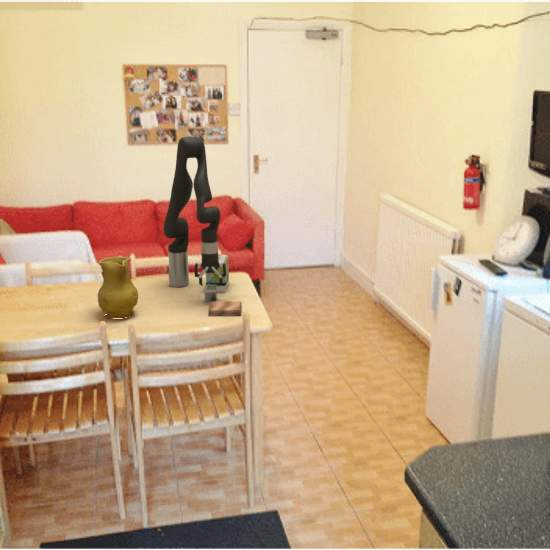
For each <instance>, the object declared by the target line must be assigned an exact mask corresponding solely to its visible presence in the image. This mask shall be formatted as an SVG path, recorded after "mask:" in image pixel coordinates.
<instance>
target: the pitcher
mask: <svg viewBox="0 0 550 550" xmlns="http://www.w3.org/2000/svg"><path fill="white" fill-rule="evenodd" d="M130 261H131V258H130V257H128V256H110V257H104V258H103V259H100V260H99V261H98V264H99V266H100V267H101V271H102V272H101V274H102V278H103V281H102V284H101V287H100V288H99V289H98V293H97V304H98V307H99V308H100V309H101V311H102V312H103V313H104V315H105V314H107V315H105V316H104V318H106V317H107V318H125V317H129V316H131V317H132V316H133V315H134V311H133V309H134V308H135V307H136V306H137V305H138V303H139V302H138V300H139V291H138V289H137V287H136V286H135V285H134V283H133V281H132V279H131V276H130V275H131V274H130V267H129V266H130ZM132 314H133V315H132ZM107 318H106V319H107Z"/></svg>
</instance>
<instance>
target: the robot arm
mask: <svg viewBox="0 0 550 550" xmlns="http://www.w3.org/2000/svg"><path fill="white" fill-rule="evenodd" d="M189 159H196V161H197V167H196V168H197V169H196V172H195V175H194V178H193V179H194V180H192V177H191V176H190V173H189V171H188V168H187V164H188V160H189ZM174 169H175V171H174V176H173V180H172V186H171V191H170V192H171V193H170V198H169V203H168V208H167V211H166V215H165V217H164V220H163V221H164V222H163V234H164V236H165V237H166V238H167V239H170V240H171V239H174V240H173V241H172V242H171V243H170V244H168V246H167V248H168V251H167V254H168V283H169V285H168V287H173V286H174V287H175V288H184V287H187V286H189V284H190V276H189V275H190V274H189V256H188V254H189V252H188V248H189V242H190V241H189V239H190V238H189V237H190V235H189V234H190V229H189V222H188V220H187V218H185V217H182V216H180V214H181V212H182V211H183V210H184V208H185V207H186V206H187V204H188V203H189V201H190V200H191V197H192V193H193V190H194V195H195V199H196V211H195V212H196V213H195V216H196V220H197V222H198V223H199V224H201V225H204V224H205V225H206V224H208V225H207V226H206V227H204V228H202V229H201V231H200V234H201V235H200V237H201V238H200V239H201V242H200V243H201V244H200V245H201V246H200V252H201V263H198V262H195V263H194V277H195V278H198V284H199V286H201V287H203V275H206V273H216V274H217V275H218V276H219V284H220V286H221V284H223V277H226V263H221V264H219V261H218V255H219V243H218V229H219V225H220V221H221V217H222V216H221V211H220V208H219V207H218V206H206V207H205V204H207V203H210V202H211V201H212V200H213V194H212V190H211V186H210V181H209V176H208V165H207V154H206V146H205V142H204V140H203V139H202V138H201V137H200V136H183V137H180V138H179V140H178V142H177V150H176V160H175V168H174ZM219 266H221V268H223V274H222V273H221V272H220V271H219V269H218V268H219ZM200 268H202V270H201V272H200V273H199V272H198V271H199V269H200ZM174 287H173V288H174Z"/></svg>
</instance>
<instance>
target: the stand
mask: <svg viewBox="0 0 550 550" xmlns="http://www.w3.org/2000/svg"><path fill="white" fill-rule="evenodd" d="M208 306H209V307H208V317H241V316H242V301H240V300H233V301H232V300H230V301H229V300H226V301H225V300H223V301H222V300H218V301H211V302H210V305H208Z"/></svg>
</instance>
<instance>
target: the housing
mask: <svg viewBox="0 0 550 550" xmlns="http://www.w3.org/2000/svg"><path fill="white" fill-rule="evenodd" d="M217 300H218V294H217V284H206V283H205V286H204V305H205V306H210V302H211V301H217Z"/></svg>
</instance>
